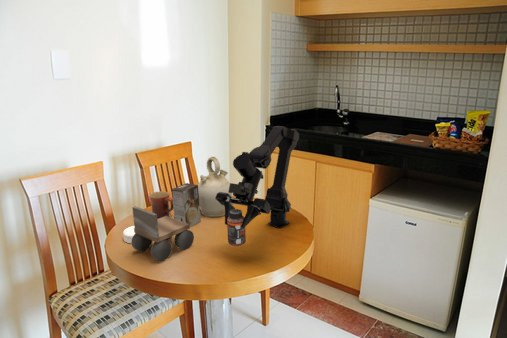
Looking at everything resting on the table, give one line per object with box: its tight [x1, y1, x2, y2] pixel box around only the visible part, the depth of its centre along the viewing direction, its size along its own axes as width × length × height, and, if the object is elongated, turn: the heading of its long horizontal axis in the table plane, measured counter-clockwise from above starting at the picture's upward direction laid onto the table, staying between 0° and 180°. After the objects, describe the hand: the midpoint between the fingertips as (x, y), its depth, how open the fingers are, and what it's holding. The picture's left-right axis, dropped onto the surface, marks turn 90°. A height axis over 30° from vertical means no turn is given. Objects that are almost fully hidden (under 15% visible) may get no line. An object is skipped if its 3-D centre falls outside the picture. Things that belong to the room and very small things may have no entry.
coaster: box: [122, 225, 135, 244], centre depth 148 cm, size 10×10×4 cm
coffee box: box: [171, 182, 201, 228], centre depth 158 cm, size 9×6×16 cm
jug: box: [197, 156, 233, 218], centre depth 168 cm, size 15×16×25 cm
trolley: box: [130, 206, 195, 262], centre depth 137 cm, size 17×13×17 cm
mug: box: [148, 190, 174, 219], centre depth 165 cm, size 12×9×10 cm
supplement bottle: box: [226, 208, 247, 247], centre depth 128 cm, size 6×6×11 cm
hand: (234, 226), depth 126 cm, fingers closed on supplement bottle, 6 cm apart
